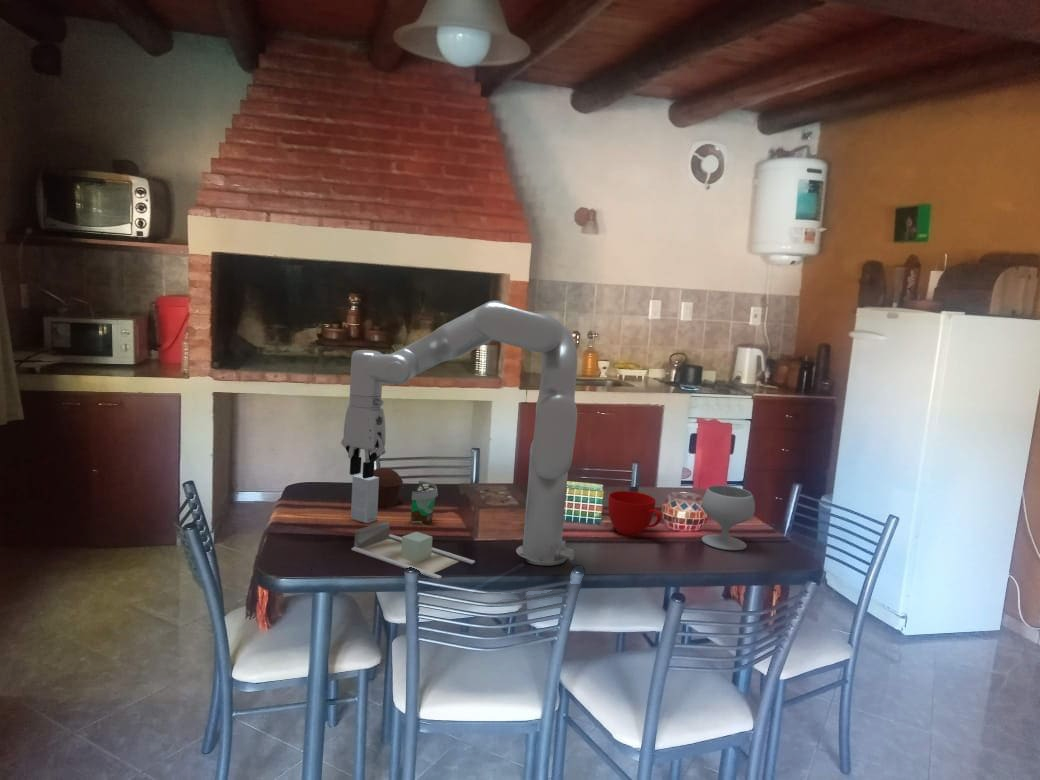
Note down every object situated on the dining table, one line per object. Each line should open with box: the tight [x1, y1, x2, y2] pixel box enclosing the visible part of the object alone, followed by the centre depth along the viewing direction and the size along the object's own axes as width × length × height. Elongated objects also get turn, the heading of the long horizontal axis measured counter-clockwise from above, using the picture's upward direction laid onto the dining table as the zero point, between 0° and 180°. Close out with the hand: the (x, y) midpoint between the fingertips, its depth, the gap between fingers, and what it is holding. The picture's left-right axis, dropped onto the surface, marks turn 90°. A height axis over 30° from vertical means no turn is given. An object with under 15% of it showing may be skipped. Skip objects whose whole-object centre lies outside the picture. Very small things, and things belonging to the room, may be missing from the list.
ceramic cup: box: [607, 490, 662, 537], centre depth 212 cm, size 13×17×10 cm
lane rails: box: [351, 533, 476, 580], centre depth 180 cm, size 26×14×2 cm, turn 58°
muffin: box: [373, 467, 404, 508], centre depth 222 cm, size 12×11×10 cm
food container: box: [410, 480, 439, 526], centre depth 207 cm, size 12×6×10 cm, turn 179°
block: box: [401, 531, 434, 563], centre depth 179 cm, size 5×5×5 cm
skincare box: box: [350, 473, 379, 524], centre depth 206 cm, size 6×4×12 cm
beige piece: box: [353, 520, 461, 574], centre depth 180 cm, size 24×10×5 cm, turn 58°
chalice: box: [701, 484, 756, 551], centre depth 209 cm, size 14×14×15 cm
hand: (361, 474), depth 186 cm, fingers open, 3 cm apart
